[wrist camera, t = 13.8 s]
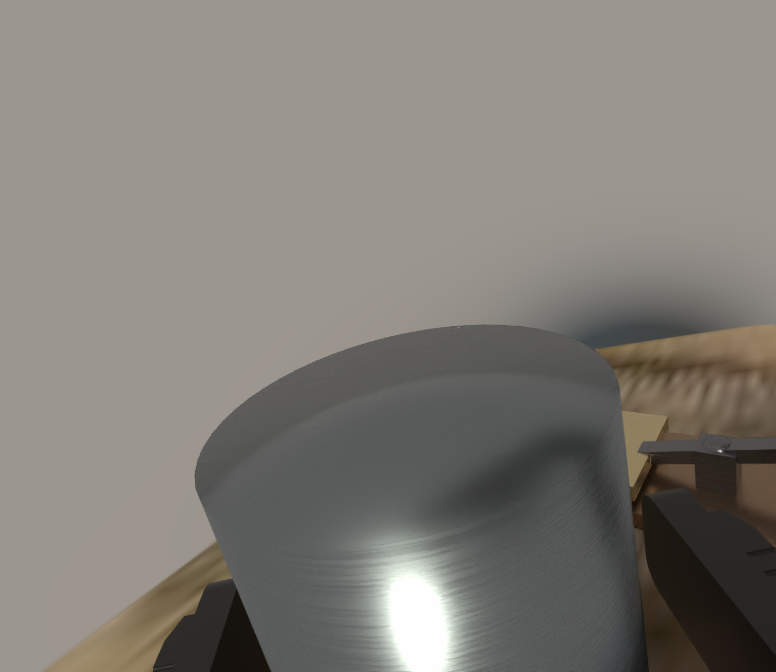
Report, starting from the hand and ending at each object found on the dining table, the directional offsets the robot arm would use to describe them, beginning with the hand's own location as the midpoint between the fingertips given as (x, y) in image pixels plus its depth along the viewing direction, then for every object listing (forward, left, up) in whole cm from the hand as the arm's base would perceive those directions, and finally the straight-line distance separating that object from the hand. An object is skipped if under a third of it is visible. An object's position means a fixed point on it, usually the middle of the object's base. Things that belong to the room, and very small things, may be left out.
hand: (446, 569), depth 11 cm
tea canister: (0, +2, -9) cm, 9 cm away
